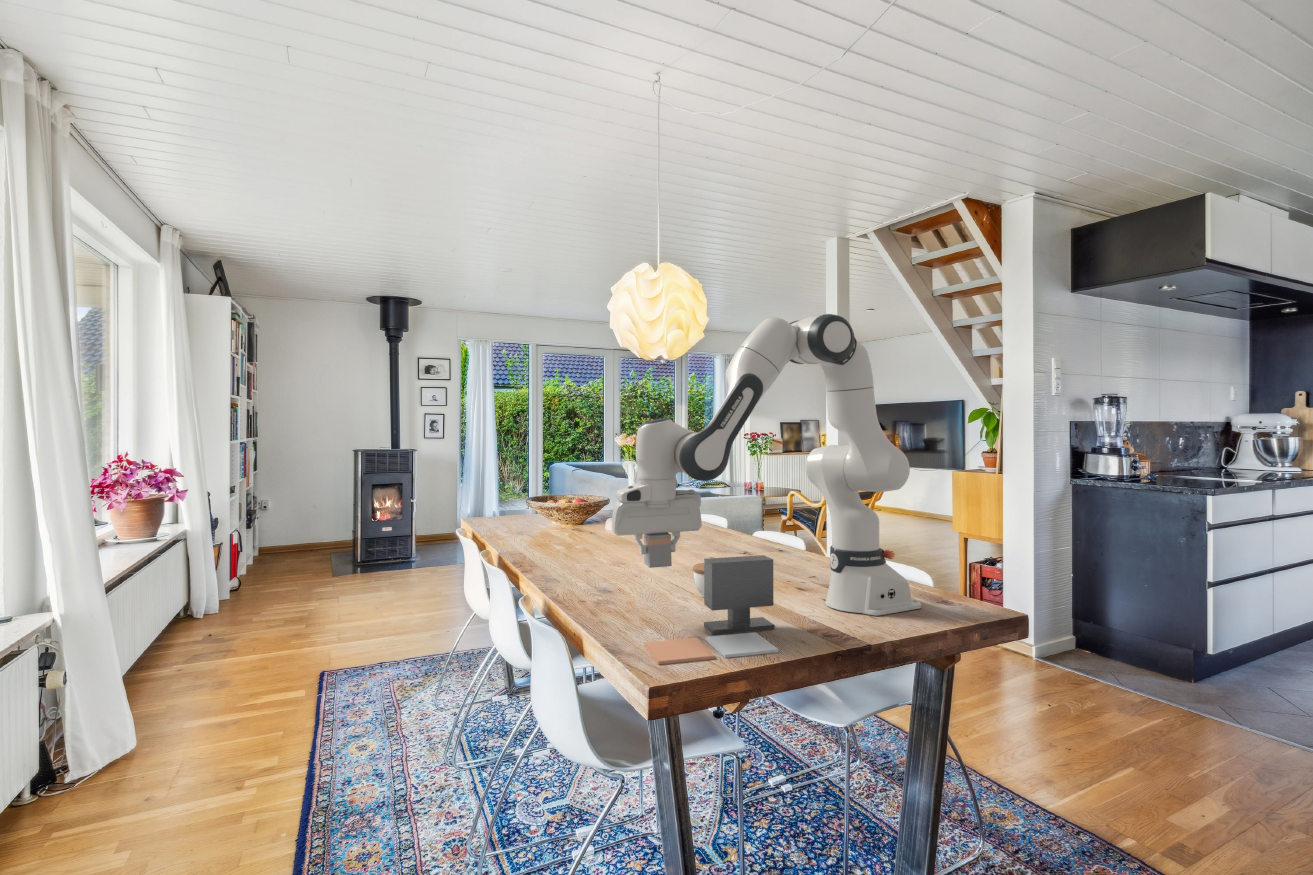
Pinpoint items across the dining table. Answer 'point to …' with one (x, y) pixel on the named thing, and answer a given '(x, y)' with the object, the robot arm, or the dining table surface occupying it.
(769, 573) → the mounted unit
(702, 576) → the lidded jar
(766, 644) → the pale pad
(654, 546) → the cartridge
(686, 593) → the dining table surface
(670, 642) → the terracotta pad
